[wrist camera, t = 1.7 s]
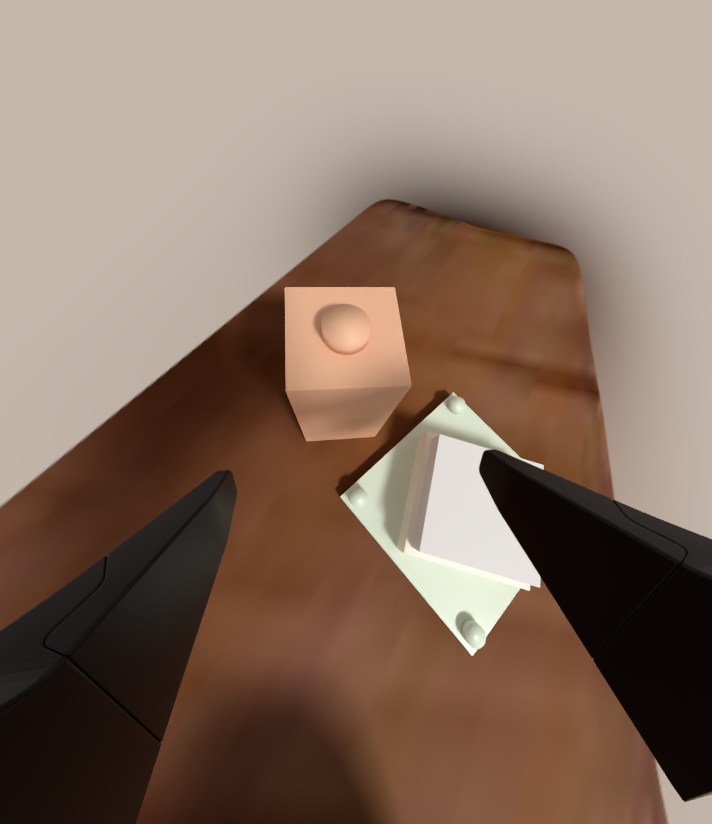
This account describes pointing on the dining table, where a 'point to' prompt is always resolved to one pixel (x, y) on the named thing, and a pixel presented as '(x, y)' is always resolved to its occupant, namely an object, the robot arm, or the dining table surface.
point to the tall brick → (343, 359)
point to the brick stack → (460, 515)
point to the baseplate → (383, 512)
